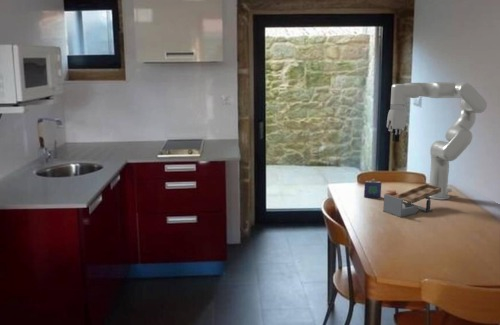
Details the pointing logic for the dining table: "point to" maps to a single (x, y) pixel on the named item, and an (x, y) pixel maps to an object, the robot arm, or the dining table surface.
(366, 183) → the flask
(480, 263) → the dining table surface
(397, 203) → the cup
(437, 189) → the brown flat piece
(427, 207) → the pivot stand
